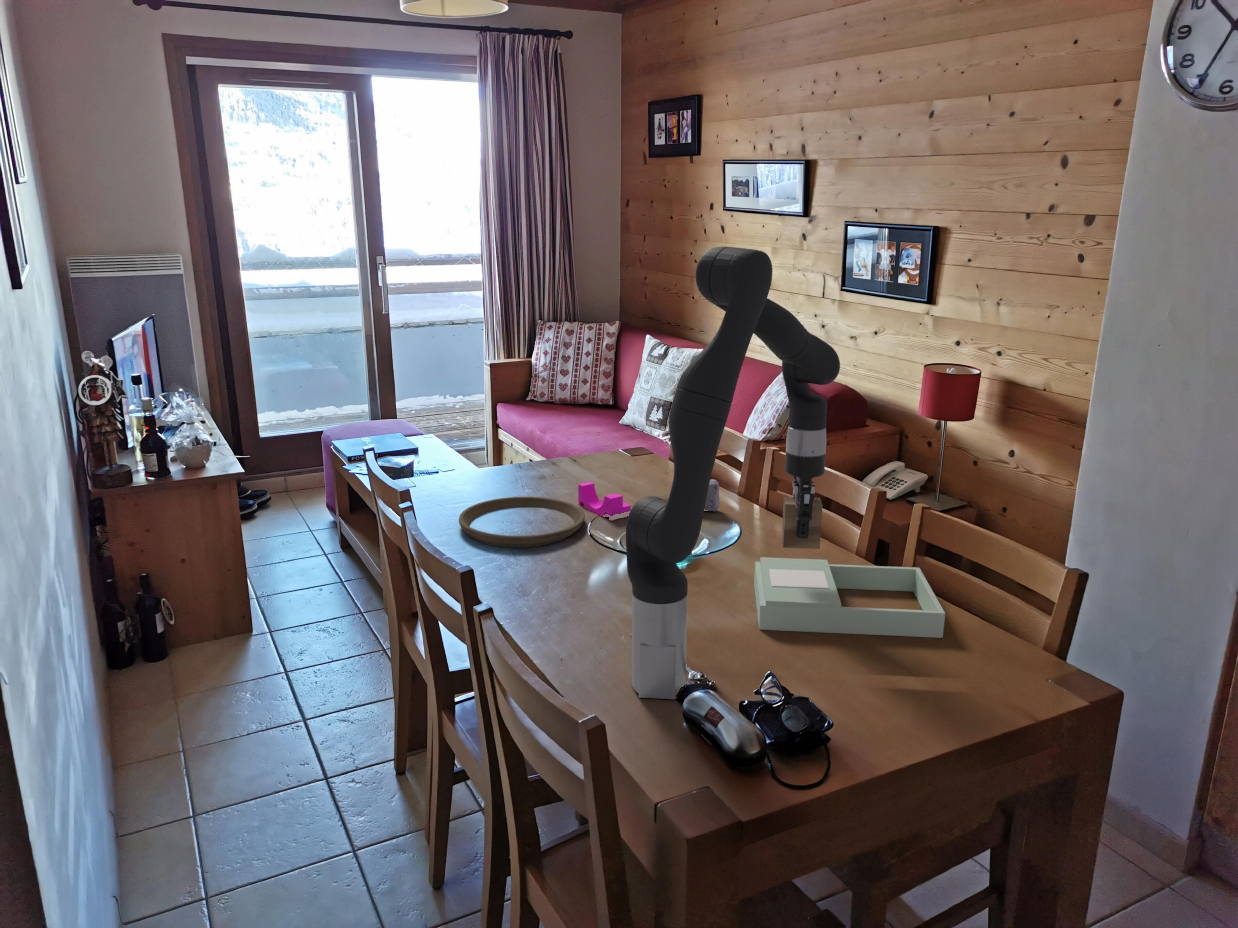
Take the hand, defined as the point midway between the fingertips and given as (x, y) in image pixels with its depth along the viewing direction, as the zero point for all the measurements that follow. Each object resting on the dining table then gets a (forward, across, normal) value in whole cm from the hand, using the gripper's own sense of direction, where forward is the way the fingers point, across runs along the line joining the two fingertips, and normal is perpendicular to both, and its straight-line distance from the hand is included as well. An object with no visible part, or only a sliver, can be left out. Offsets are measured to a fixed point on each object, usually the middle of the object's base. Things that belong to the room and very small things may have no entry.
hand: (800, 532), depth 176 cm
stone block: (+16, +54, +21) cm, 60 cm away
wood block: (+2, 0, 0) cm, 2 cm away
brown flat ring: (+16, +38, +64) cm, 76 cm away
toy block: (+16, +51, +45) cm, 70 cm away
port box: (+16, 0, -9) cm, 18 cm away
